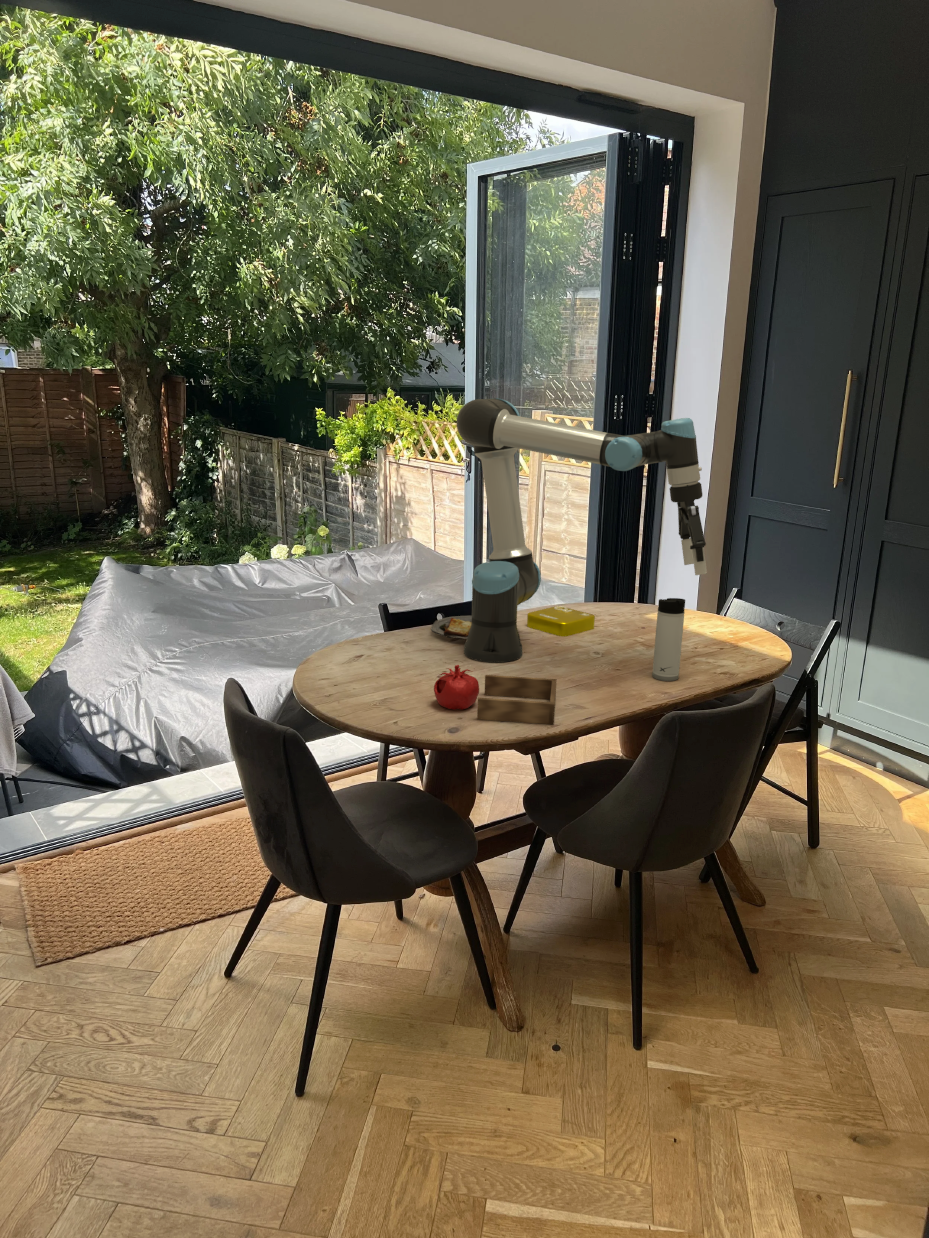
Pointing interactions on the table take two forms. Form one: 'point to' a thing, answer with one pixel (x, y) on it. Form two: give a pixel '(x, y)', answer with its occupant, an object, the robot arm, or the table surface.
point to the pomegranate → (456, 689)
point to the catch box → (518, 708)
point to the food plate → (453, 626)
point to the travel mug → (668, 639)
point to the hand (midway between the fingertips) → (695, 569)
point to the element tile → (560, 621)
